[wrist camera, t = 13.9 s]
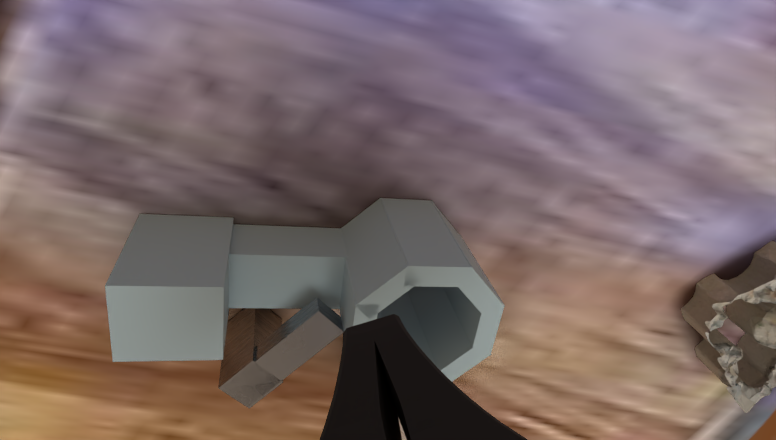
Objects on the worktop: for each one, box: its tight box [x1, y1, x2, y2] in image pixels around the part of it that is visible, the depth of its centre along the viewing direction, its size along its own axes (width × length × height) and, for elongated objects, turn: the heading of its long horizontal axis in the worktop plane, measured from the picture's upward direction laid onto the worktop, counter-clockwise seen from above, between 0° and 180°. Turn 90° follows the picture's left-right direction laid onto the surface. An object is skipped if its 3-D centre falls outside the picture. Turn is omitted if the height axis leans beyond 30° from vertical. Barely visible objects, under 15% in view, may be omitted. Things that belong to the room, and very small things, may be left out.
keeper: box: [218, 297, 344, 408], centre depth 22 cm, size 2×5×4 cm, turn 128°
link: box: [105, 198, 505, 382], centre depth 21 cm, size 13×5×5 cm, turn 82°
